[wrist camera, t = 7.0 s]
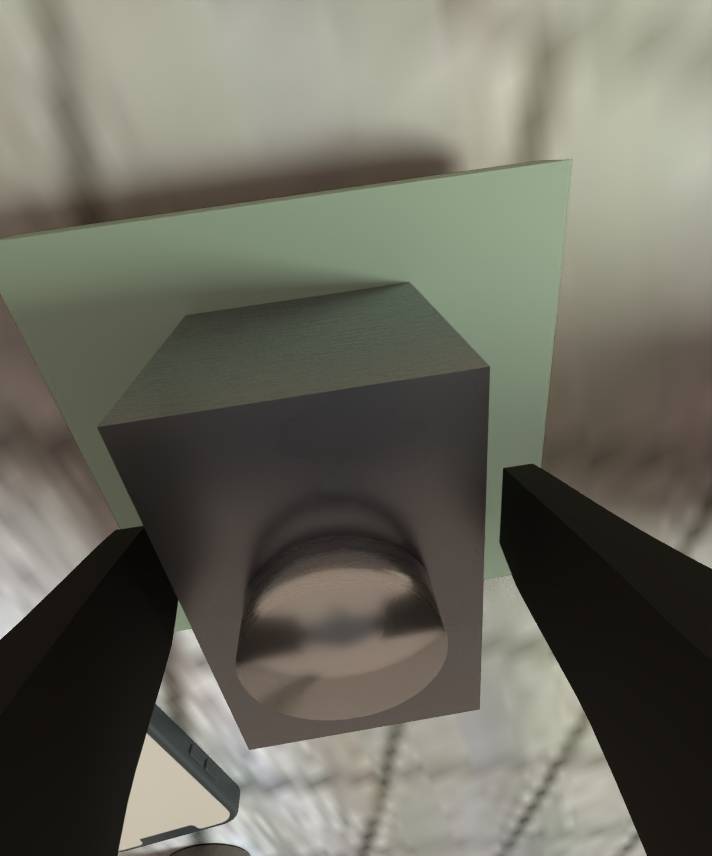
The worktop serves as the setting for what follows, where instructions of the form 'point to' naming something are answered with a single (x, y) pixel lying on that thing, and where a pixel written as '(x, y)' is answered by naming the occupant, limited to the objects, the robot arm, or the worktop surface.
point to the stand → (304, 292)
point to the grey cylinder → (212, 851)
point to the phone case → (175, 788)
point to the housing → (318, 505)
